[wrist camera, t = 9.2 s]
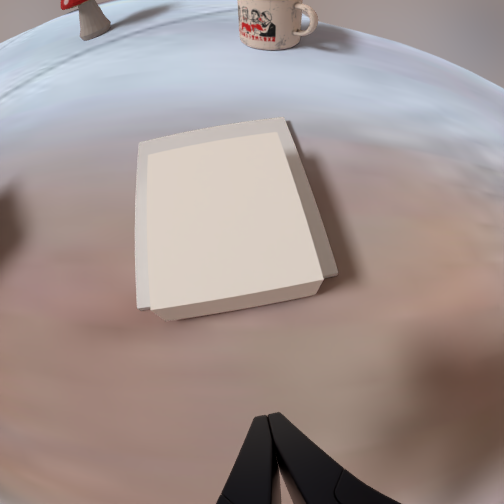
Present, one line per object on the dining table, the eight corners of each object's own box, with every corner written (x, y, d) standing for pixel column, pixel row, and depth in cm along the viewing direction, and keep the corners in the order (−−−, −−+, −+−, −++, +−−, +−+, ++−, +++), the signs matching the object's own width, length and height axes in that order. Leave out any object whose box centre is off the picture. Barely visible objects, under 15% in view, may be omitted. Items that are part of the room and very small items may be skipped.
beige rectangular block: (323, 279, 17) (277, 131, 22) (150, 310, 17) (147, 154, 22) (315, 294, 20) (275, 157, 25) (165, 321, 19) (158, 178, 24)
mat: (336, 275, 21) (338, 272, 20) (140, 310, 20) (137, 308, 20) (283, 121, 28) (283, 117, 27) (140, 146, 27) (139, 142, 26)
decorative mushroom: (78, 49, 41) (56, -11, 27) (72, 41, 44) (52, -12, 30) (124, 26, 43) (107, -34, 29) (113, 20, 46) (98, -33, 32)
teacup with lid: (225, 41, 36) (218, -28, 25) (265, 24, 39) (265, -37, 28) (293, 65, 32) (297, -17, 22) (330, 46, 35) (339, -23, 25)
